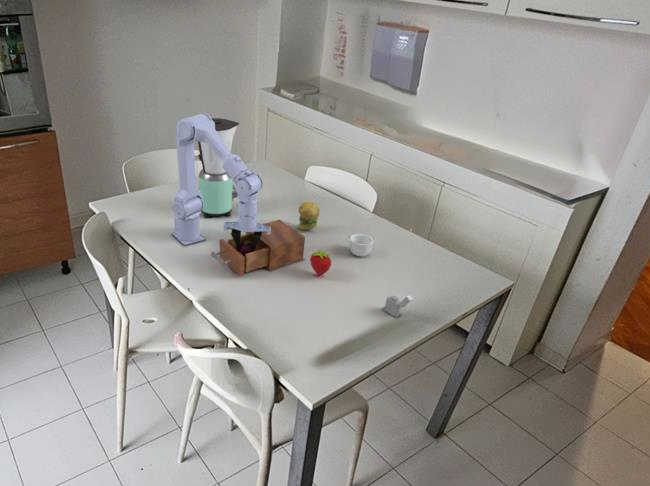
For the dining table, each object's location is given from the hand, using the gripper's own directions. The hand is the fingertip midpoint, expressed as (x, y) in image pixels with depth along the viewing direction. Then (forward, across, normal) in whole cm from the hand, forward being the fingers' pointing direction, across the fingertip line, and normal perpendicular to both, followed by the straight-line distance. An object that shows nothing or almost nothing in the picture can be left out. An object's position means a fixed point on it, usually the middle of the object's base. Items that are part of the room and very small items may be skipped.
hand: (246, 250), depth 168 cm
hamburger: (+5, -18, -28) cm, 34 cm away
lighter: (+5, -46, +18) cm, 50 cm away
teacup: (+5, -36, -16) cm, 40 cm away
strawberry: (+5, -24, +2) cm, 24 cm away
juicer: (+5, +18, -35) cm, 40 cm away
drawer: (+4, +2, +2) cm, 5 cm away
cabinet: (+5, -8, -8) cm, 12 cm away
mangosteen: (+1, 0, 0) cm, 1 cm away
